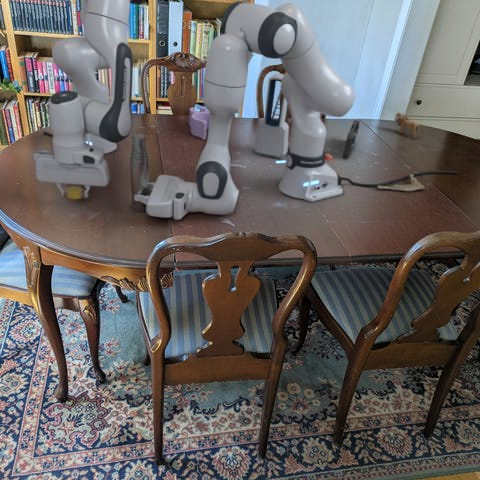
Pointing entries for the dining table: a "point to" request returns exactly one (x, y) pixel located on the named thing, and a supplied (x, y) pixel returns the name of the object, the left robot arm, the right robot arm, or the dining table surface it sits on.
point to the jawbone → (405, 186)
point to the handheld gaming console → (351, 139)
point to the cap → (74, 192)
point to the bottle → (139, 171)
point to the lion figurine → (406, 124)
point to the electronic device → (273, 126)
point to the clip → (199, 122)
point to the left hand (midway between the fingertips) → (75, 196)
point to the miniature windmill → (278, 100)
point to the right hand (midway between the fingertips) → (137, 191)
